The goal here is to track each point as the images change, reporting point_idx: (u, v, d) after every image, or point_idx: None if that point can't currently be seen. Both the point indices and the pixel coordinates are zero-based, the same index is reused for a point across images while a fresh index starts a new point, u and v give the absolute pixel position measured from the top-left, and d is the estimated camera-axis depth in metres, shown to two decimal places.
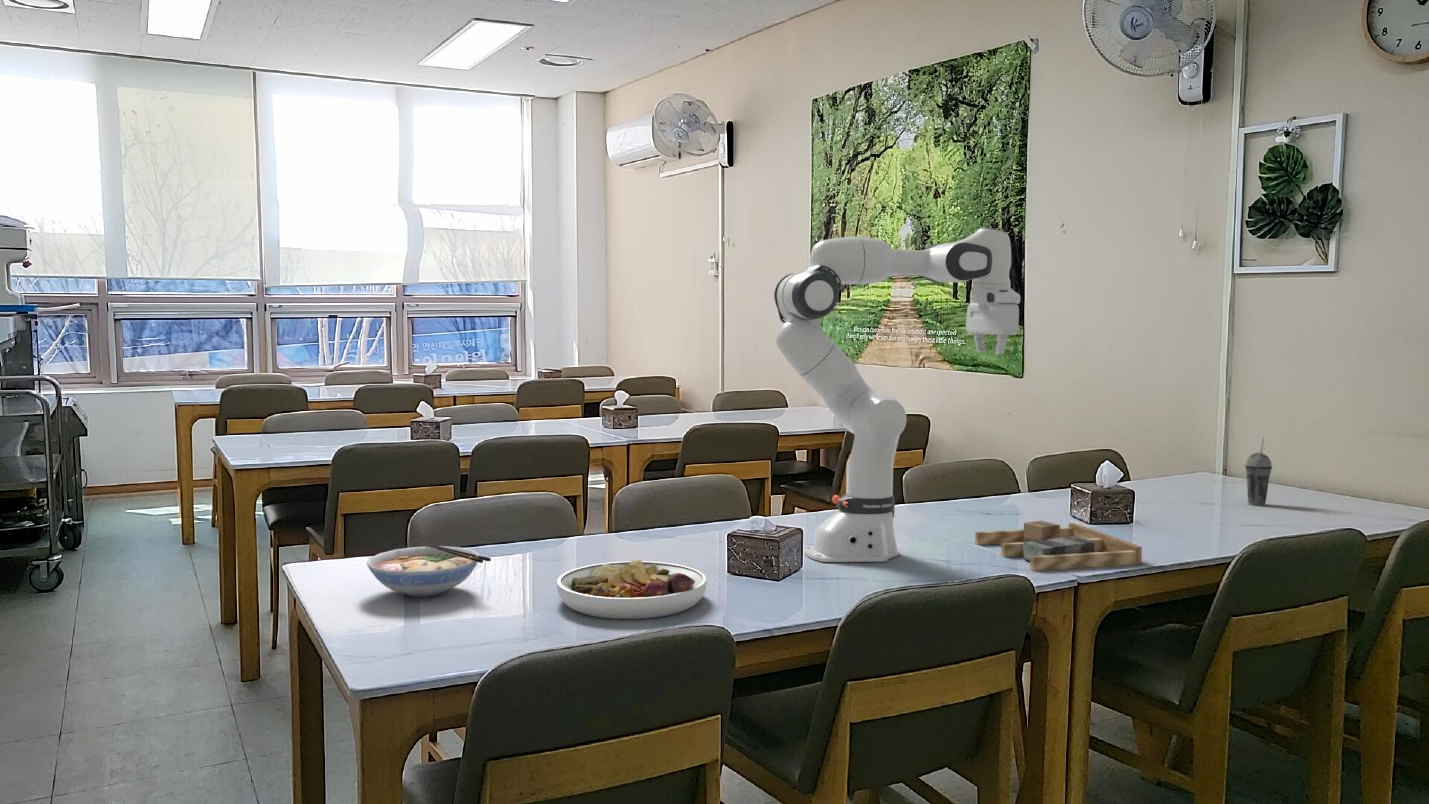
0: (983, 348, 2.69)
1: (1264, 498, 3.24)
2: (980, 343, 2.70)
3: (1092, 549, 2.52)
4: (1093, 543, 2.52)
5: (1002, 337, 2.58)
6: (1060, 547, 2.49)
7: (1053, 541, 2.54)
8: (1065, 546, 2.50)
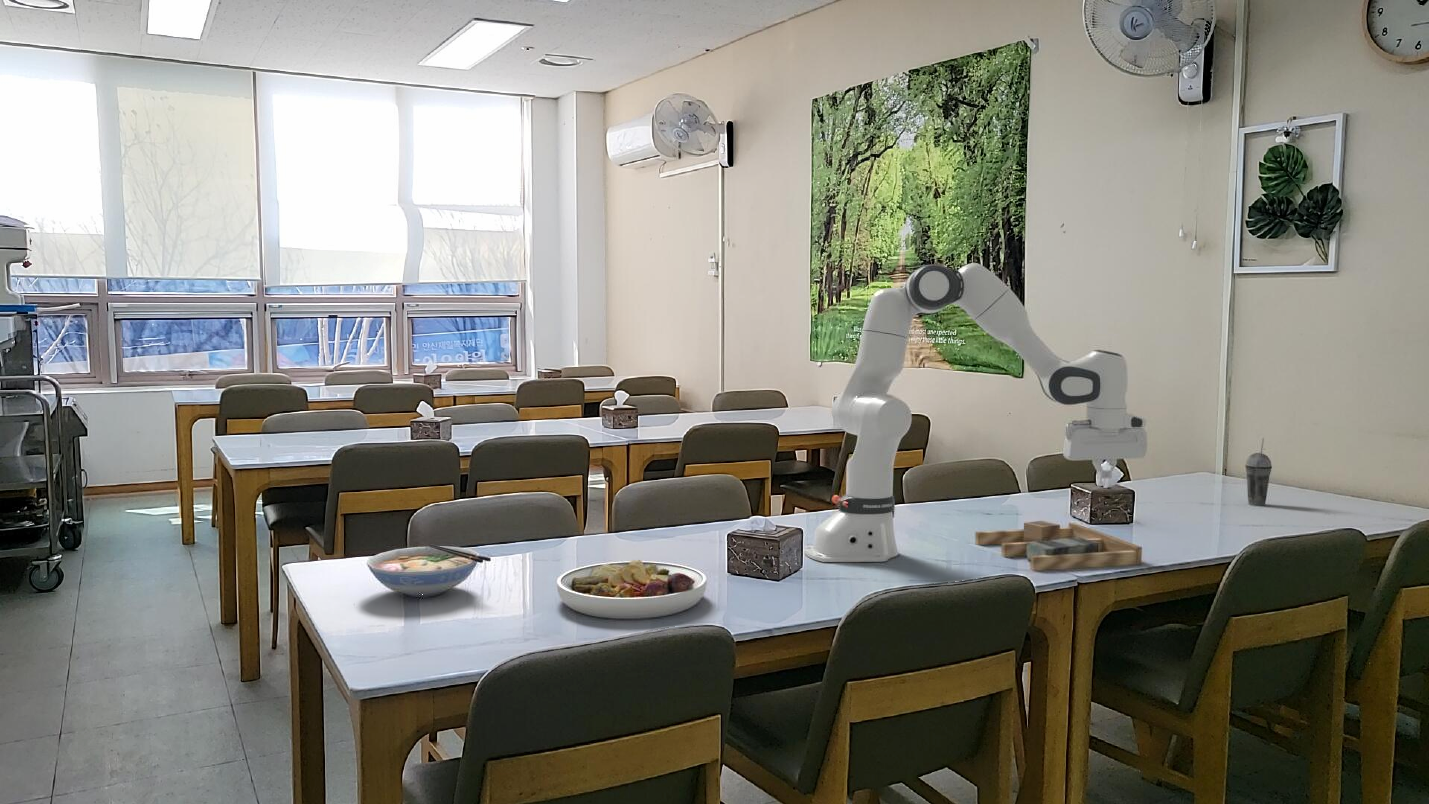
0: None
1: (1264, 498, 3.24)
2: None
3: (1096, 550, 2.52)
4: (1096, 544, 2.51)
5: None
6: (1063, 548, 2.49)
7: (1057, 542, 2.54)
8: (1068, 547, 2.49)
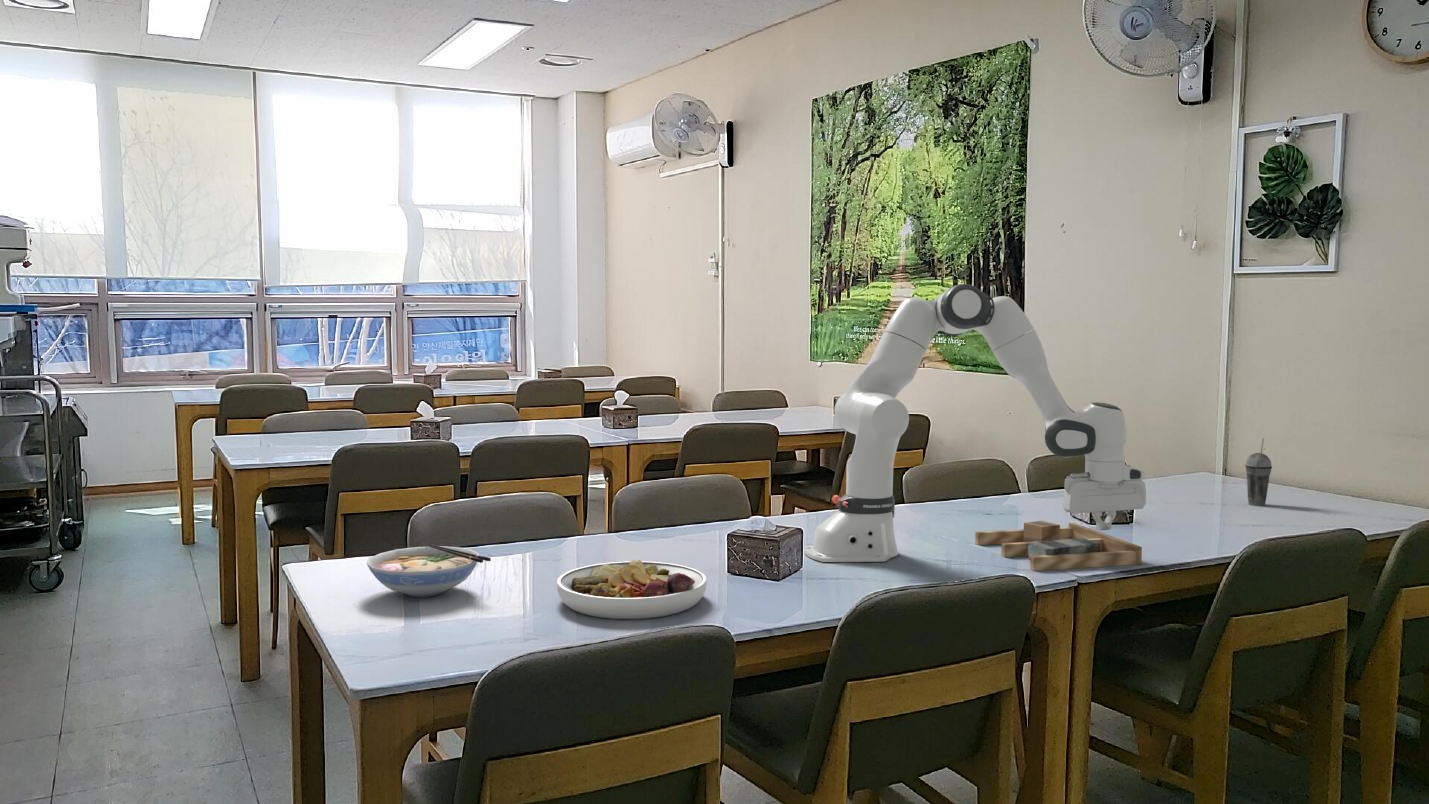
0: None
1: (1264, 498, 3.24)
2: None
3: (1098, 551, 2.51)
4: (1098, 545, 2.51)
5: None
6: (1064, 548, 2.48)
7: (1058, 542, 2.53)
8: (1069, 547, 2.49)
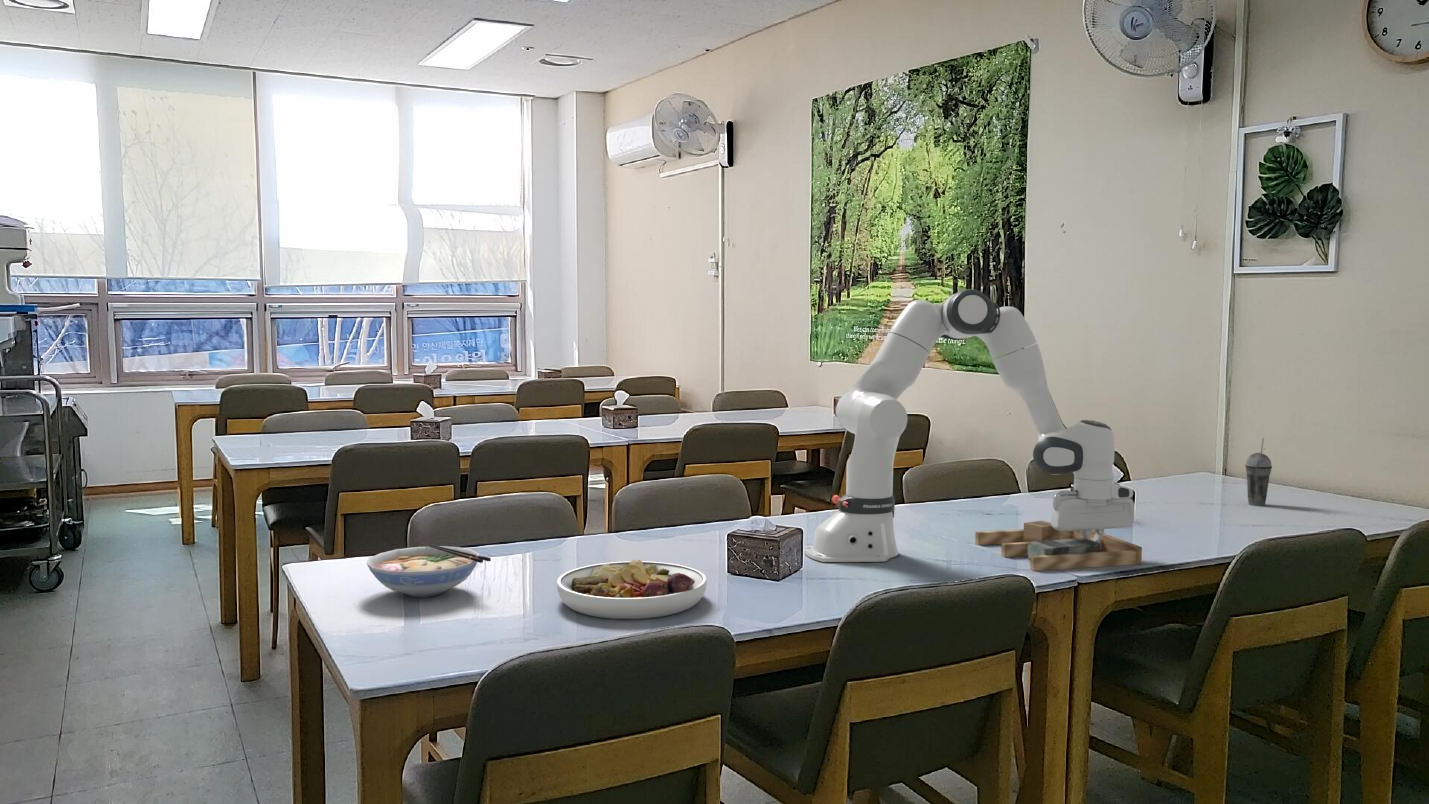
0: None
1: (1264, 498, 3.24)
2: None
3: (1097, 551, 2.51)
4: (1098, 544, 2.50)
5: None
6: (1063, 548, 2.48)
7: (1058, 542, 2.53)
8: (1068, 547, 2.49)
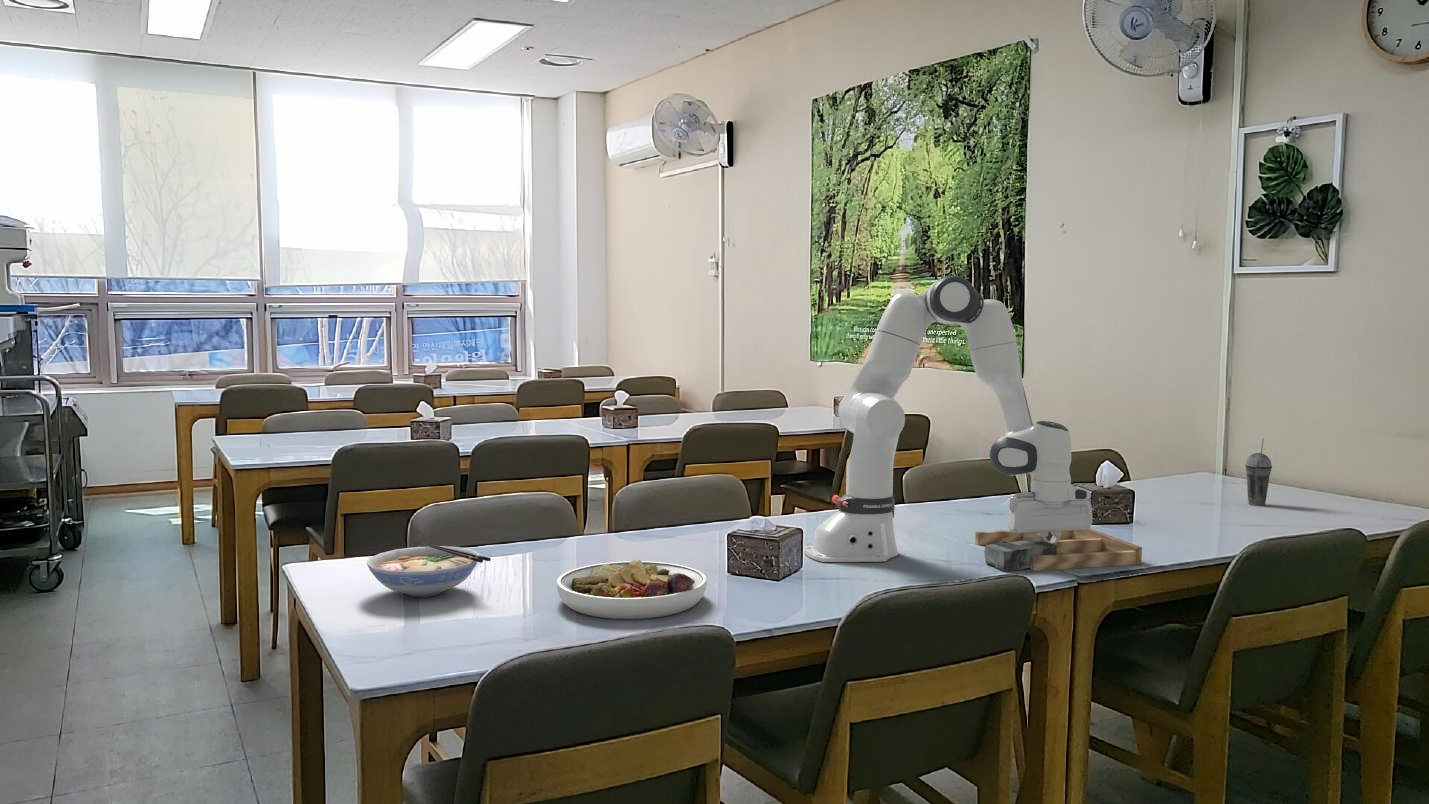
0: None
1: (1264, 498, 3.24)
2: None
3: (1054, 552, 2.49)
4: (1055, 546, 2.49)
5: None
6: (1021, 550, 2.46)
7: (1015, 544, 2.51)
8: (1026, 549, 2.46)
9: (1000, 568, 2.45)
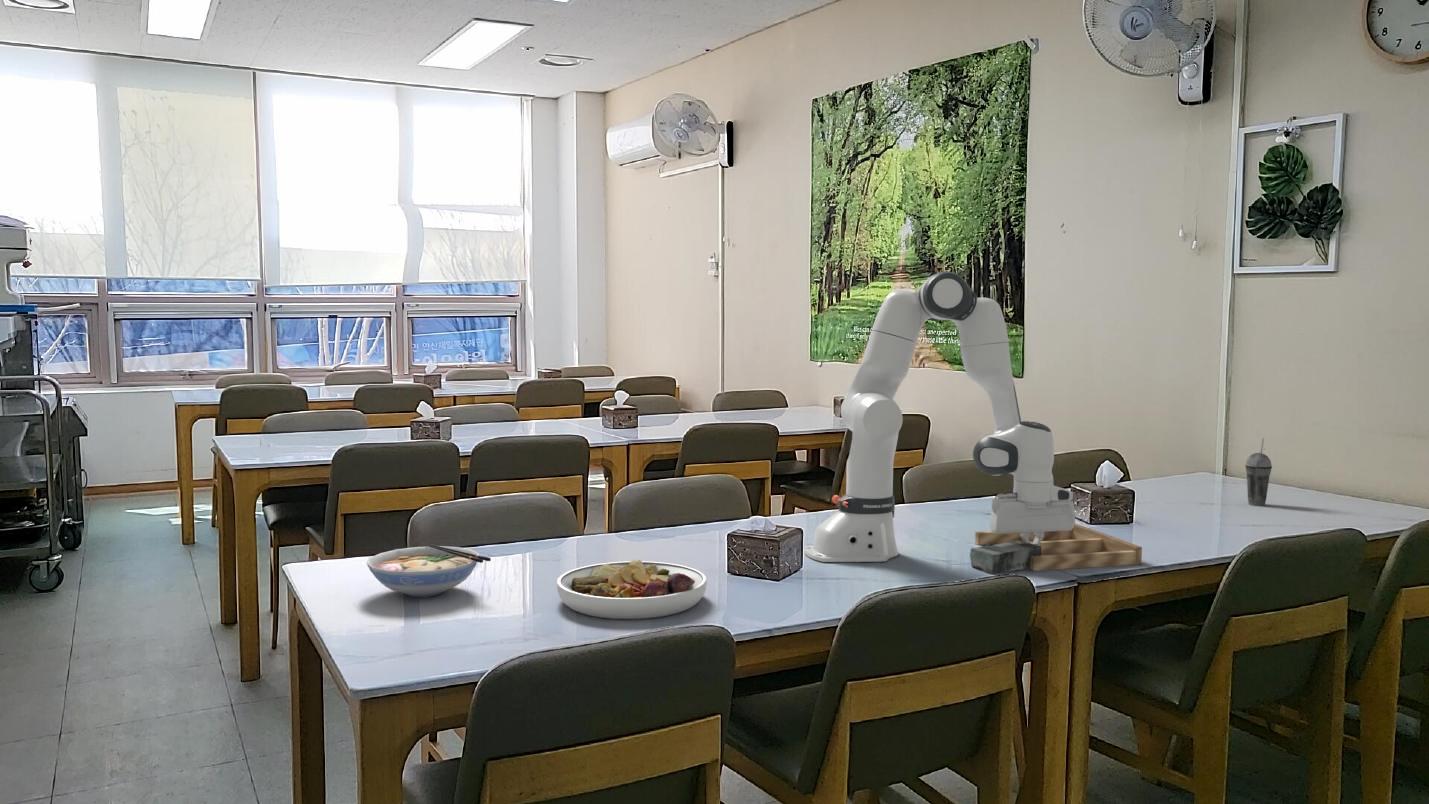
0: None
1: (1264, 498, 3.24)
2: None
3: (1039, 554, 2.48)
4: (1039, 547, 2.48)
5: None
6: (1009, 553, 2.44)
7: (1000, 546, 2.49)
8: (1013, 551, 2.44)
9: (988, 571, 2.43)
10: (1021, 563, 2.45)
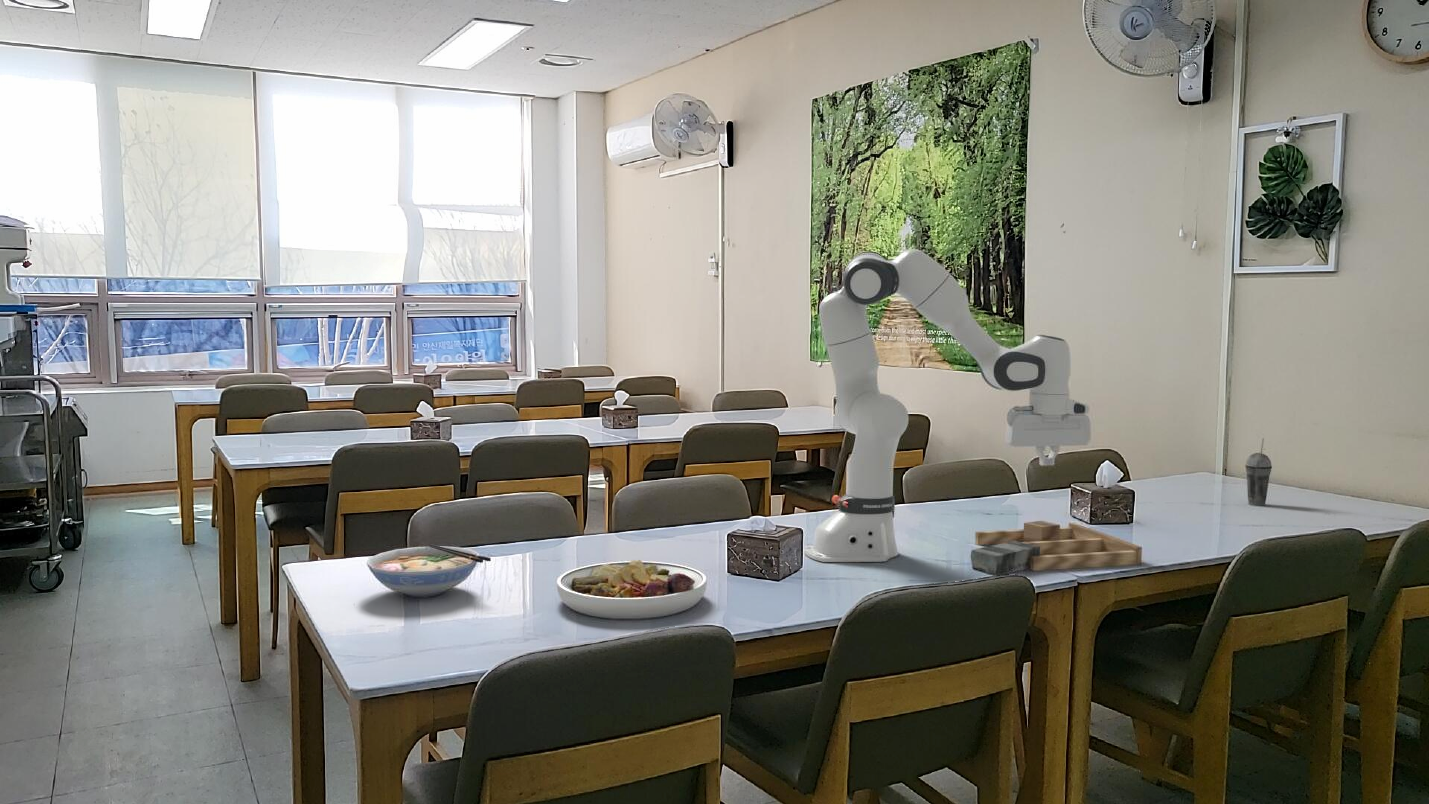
0: None
1: (1264, 498, 3.24)
2: None
3: (1038, 554, 2.48)
4: (1038, 547, 2.48)
5: None
6: (1011, 553, 2.43)
7: (1000, 547, 2.48)
8: (1015, 552, 2.44)
9: (992, 573, 2.42)
10: (1021, 563, 2.45)
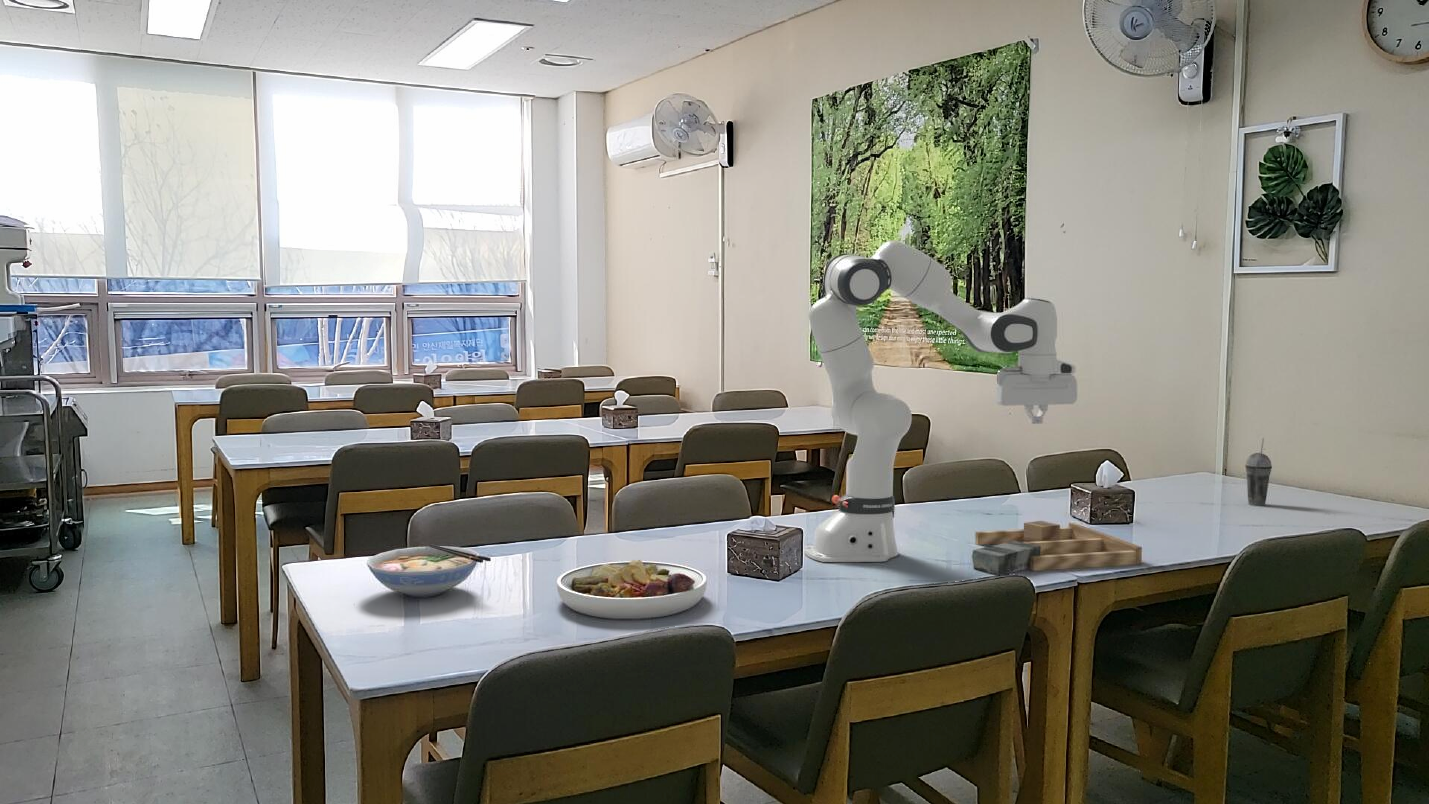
0: None
1: (1264, 498, 3.24)
2: None
3: (1038, 553, 2.48)
4: (1039, 547, 2.48)
5: None
6: (1012, 553, 2.43)
7: (1001, 547, 2.48)
8: (1016, 552, 2.44)
9: (994, 573, 2.42)
10: (1023, 563, 2.45)
